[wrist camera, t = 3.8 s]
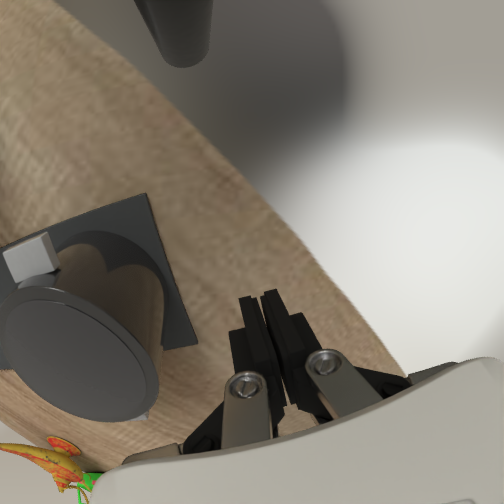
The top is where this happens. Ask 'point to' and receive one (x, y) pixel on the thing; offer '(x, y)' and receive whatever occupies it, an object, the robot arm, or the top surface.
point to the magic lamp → (53, 461)
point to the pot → (87, 324)
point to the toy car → (88, 482)
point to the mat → (133, 228)
